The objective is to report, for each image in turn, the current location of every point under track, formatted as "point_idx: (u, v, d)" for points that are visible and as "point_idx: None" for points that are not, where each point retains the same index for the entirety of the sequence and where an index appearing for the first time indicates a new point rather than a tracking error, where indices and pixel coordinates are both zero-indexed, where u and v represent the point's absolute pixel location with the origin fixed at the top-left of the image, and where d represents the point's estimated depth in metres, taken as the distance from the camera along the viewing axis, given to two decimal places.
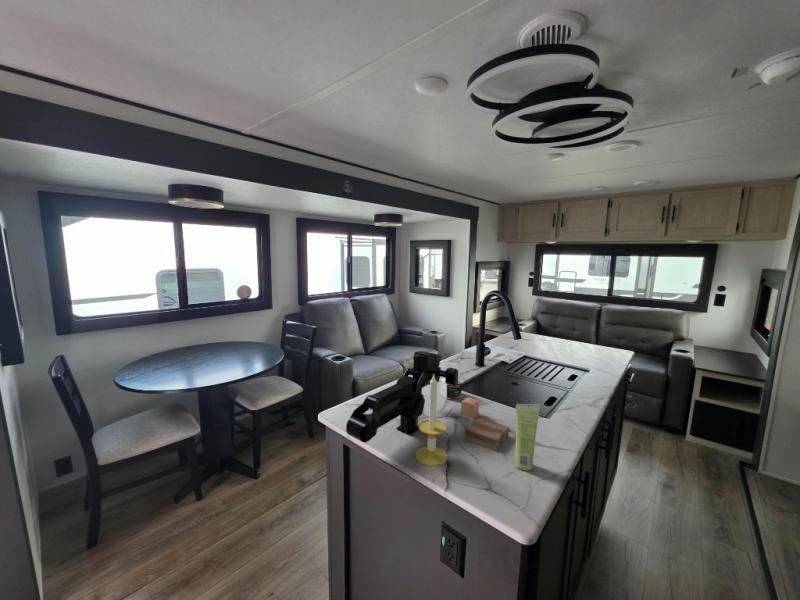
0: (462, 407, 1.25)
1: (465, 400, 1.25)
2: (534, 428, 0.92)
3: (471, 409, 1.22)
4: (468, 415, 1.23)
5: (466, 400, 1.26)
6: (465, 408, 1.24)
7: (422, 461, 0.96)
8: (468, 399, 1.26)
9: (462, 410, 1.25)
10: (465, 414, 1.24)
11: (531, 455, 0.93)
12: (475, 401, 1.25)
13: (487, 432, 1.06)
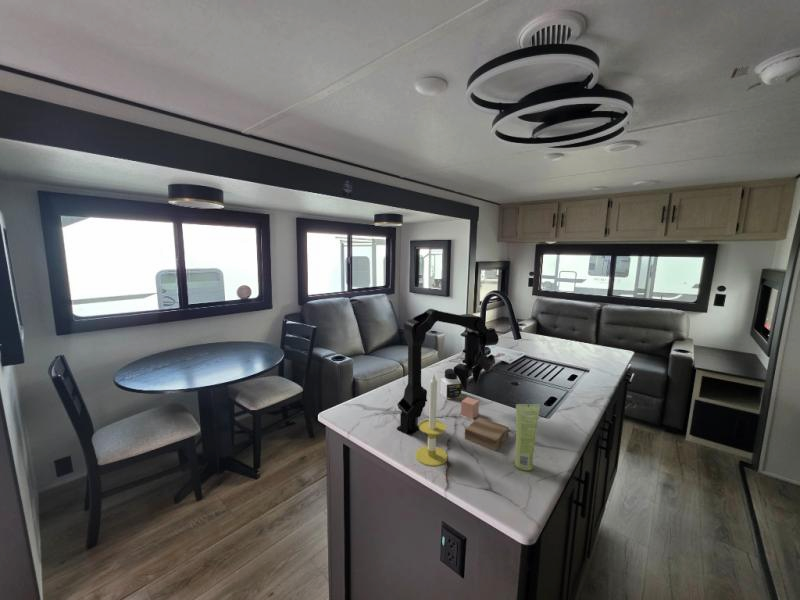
0: (462, 407, 1.25)
1: (465, 400, 1.25)
2: (534, 428, 0.92)
3: (471, 409, 1.22)
4: (468, 415, 1.23)
5: (466, 400, 1.26)
6: (465, 408, 1.24)
7: (422, 461, 0.96)
8: (468, 399, 1.26)
9: (462, 410, 1.25)
10: (465, 414, 1.24)
11: (531, 455, 0.93)
12: (475, 401, 1.25)
13: (487, 432, 1.06)
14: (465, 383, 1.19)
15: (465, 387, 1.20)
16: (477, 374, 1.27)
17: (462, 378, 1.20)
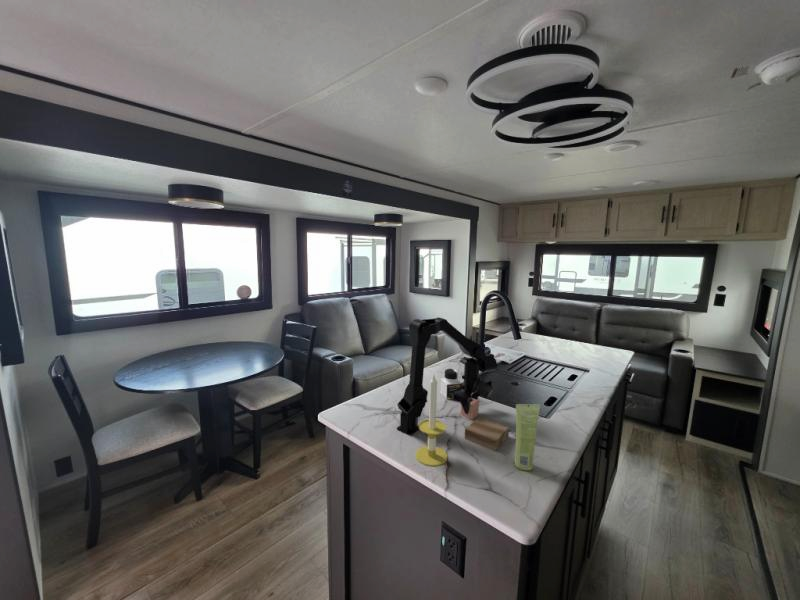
0: (462, 407, 1.25)
1: None
2: (534, 428, 0.92)
3: (471, 409, 1.22)
4: (468, 415, 1.23)
5: None
6: None
7: (422, 461, 0.96)
8: None
9: (462, 410, 1.25)
10: (465, 414, 1.24)
11: (531, 455, 0.93)
12: (475, 401, 1.25)
13: (487, 432, 1.06)
14: (466, 408, 1.22)
15: (466, 411, 1.23)
16: None
17: (463, 403, 1.23)
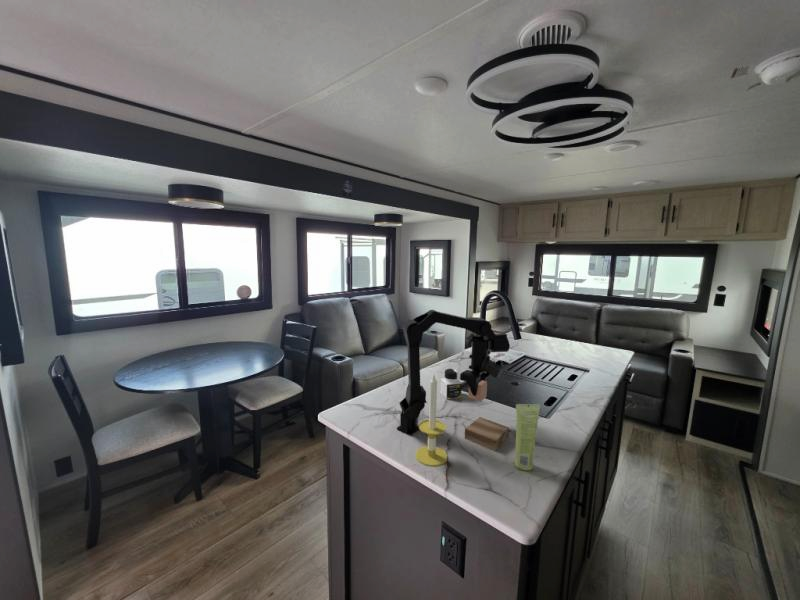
0: (469, 388, 1.17)
1: None
2: (534, 428, 0.92)
3: (480, 390, 1.14)
4: (476, 397, 1.16)
5: None
6: None
7: (422, 461, 0.96)
8: None
9: (469, 392, 1.17)
10: (473, 396, 1.16)
11: (531, 455, 0.93)
12: (483, 382, 1.17)
13: (487, 432, 1.06)
14: (474, 389, 1.14)
15: (474, 393, 1.15)
16: None
17: (471, 383, 1.15)
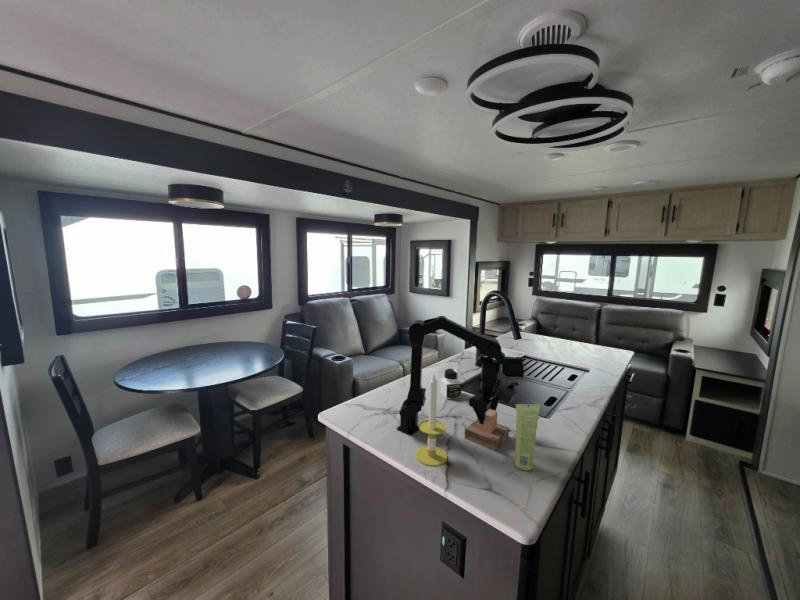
0: None
1: None
2: (534, 428, 0.92)
3: (489, 421, 1.06)
4: (485, 428, 1.07)
5: None
6: None
7: (422, 461, 0.96)
8: None
9: (478, 422, 1.08)
10: (482, 427, 1.08)
11: (531, 455, 0.93)
12: (493, 412, 1.08)
13: (487, 433, 1.06)
14: (482, 417, 1.04)
15: (481, 421, 1.05)
16: (494, 404, 1.12)
17: (478, 411, 1.04)
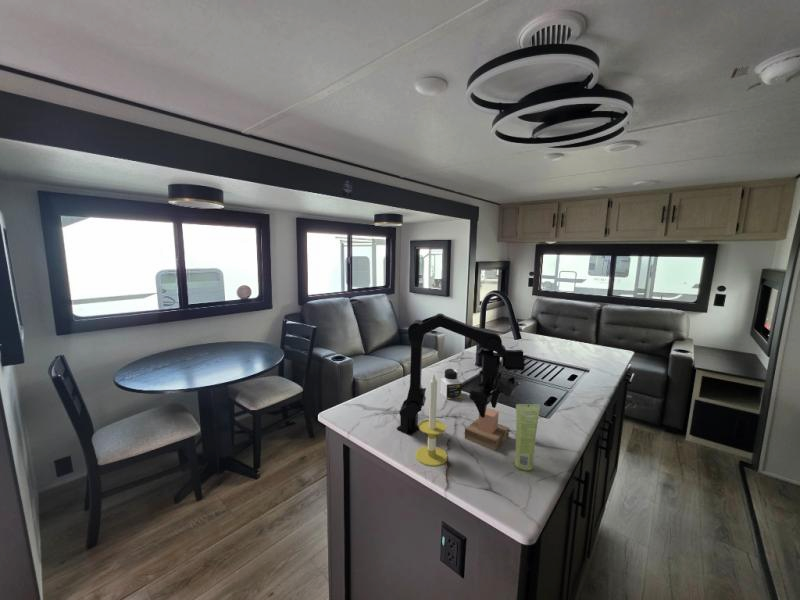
0: (480, 419, 1.08)
1: None
2: (534, 428, 0.92)
3: (491, 421, 1.06)
4: (487, 429, 1.07)
5: None
6: (484, 421, 1.07)
7: (422, 461, 0.96)
8: (486, 410, 1.10)
9: (480, 423, 1.08)
10: (483, 427, 1.08)
11: (531, 455, 0.93)
12: (494, 412, 1.08)
13: (487, 432, 1.07)
14: (483, 410, 1.04)
15: (482, 414, 1.05)
16: (495, 398, 1.12)
17: (479, 404, 1.04)
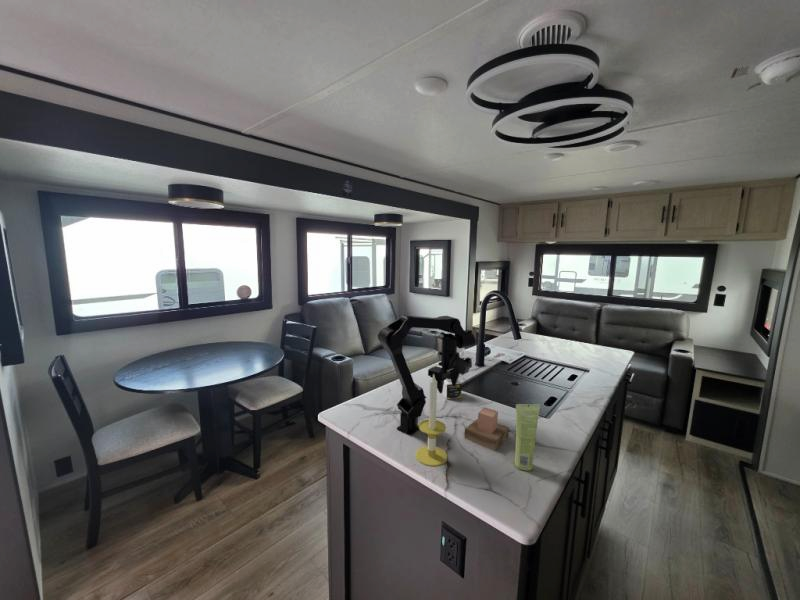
0: (479, 419, 1.08)
1: (482, 411, 1.09)
2: (534, 428, 0.92)
3: (490, 422, 1.06)
4: (486, 429, 1.07)
5: (484, 411, 1.09)
6: (483, 421, 1.07)
7: (422, 461, 0.96)
8: (485, 410, 1.10)
9: (479, 423, 1.08)
10: (482, 427, 1.08)
11: (531, 455, 0.93)
12: (494, 412, 1.08)
13: (486, 432, 1.07)
14: (440, 386, 1.16)
15: (440, 390, 1.17)
16: (455, 377, 1.24)
17: (437, 381, 1.17)
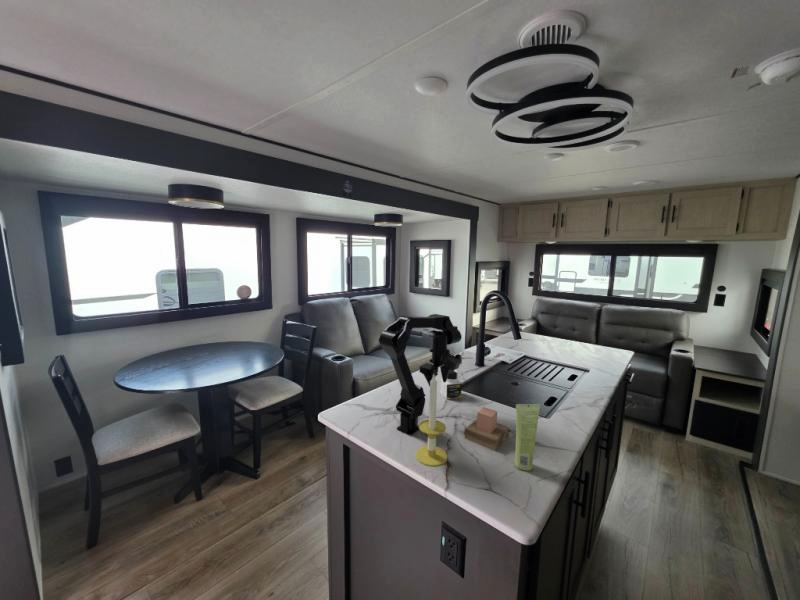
0: (478, 419, 1.08)
1: (481, 411, 1.09)
2: (534, 428, 0.92)
3: (489, 421, 1.06)
4: (485, 428, 1.07)
5: (483, 410, 1.09)
6: (482, 421, 1.07)
7: (422, 461, 0.96)
8: (485, 410, 1.10)
9: (478, 422, 1.08)
10: (481, 427, 1.08)
11: (531, 455, 0.93)
12: (493, 412, 1.08)
13: None
14: None
15: None
16: (445, 373, 1.27)
17: (428, 377, 1.20)
